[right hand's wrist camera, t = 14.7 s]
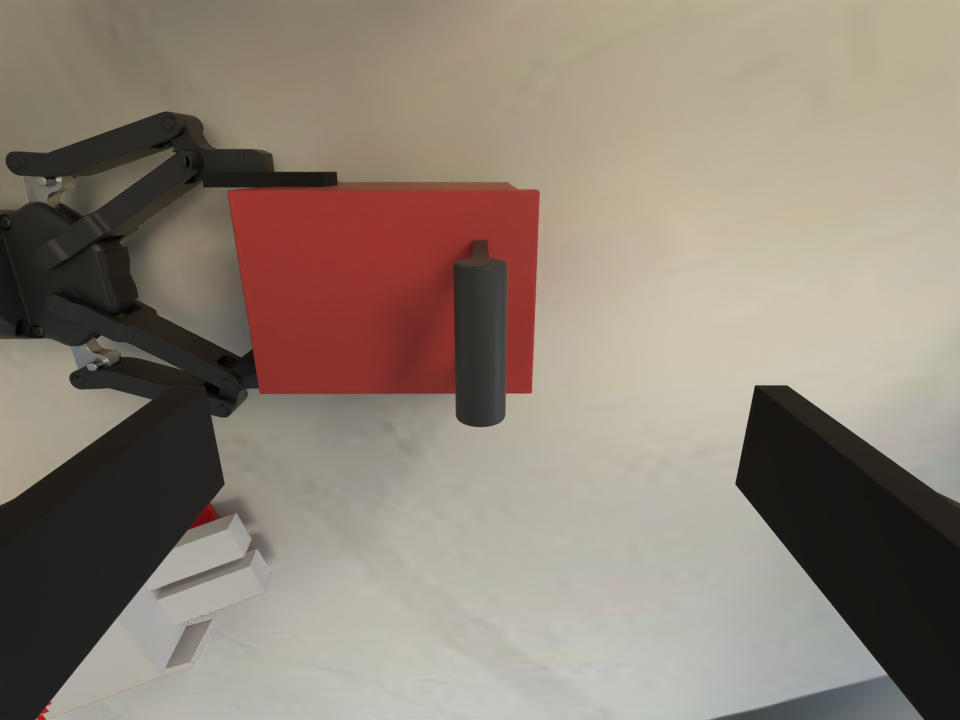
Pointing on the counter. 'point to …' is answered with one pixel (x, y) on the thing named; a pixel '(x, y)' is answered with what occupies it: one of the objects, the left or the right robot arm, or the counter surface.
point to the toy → (169, 613)
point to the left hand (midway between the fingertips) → (340, 275)
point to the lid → (391, 291)
